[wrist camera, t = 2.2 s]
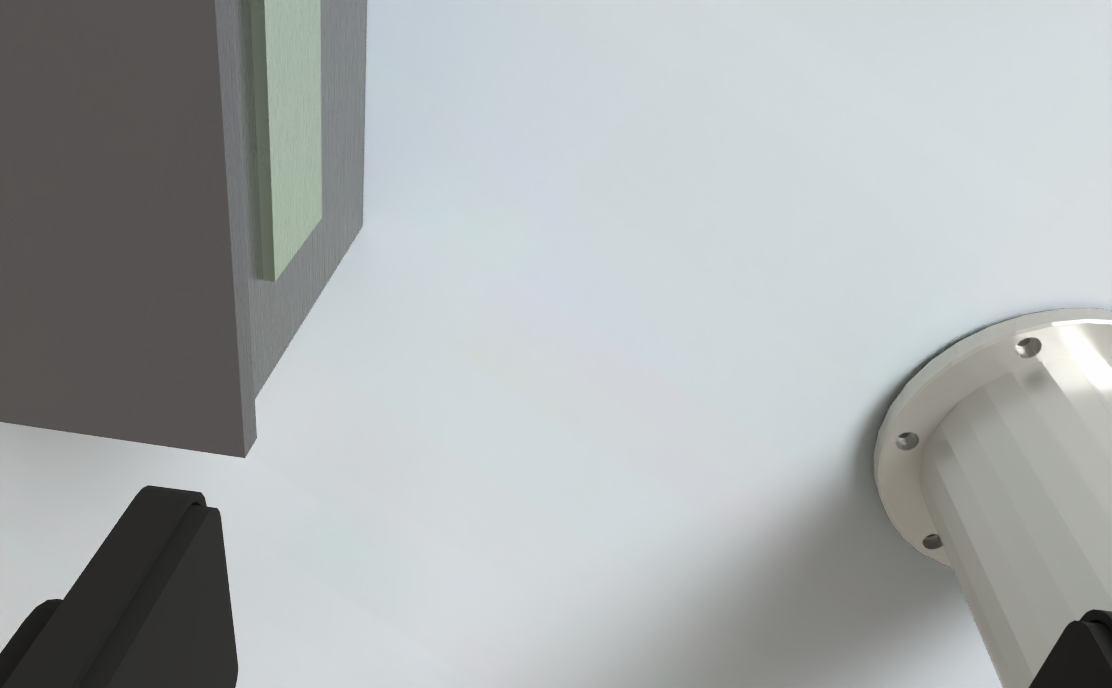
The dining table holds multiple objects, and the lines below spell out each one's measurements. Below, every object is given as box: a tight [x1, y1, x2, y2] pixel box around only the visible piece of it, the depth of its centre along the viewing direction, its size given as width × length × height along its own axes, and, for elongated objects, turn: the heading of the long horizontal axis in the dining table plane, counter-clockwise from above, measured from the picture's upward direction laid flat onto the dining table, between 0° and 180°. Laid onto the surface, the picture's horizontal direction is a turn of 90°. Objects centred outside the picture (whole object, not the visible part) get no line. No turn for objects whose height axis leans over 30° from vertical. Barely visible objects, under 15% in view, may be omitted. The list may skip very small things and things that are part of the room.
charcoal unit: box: [0, 0, 367, 458], centre depth 23 cm, size 7×15×13 cm, turn 172°
